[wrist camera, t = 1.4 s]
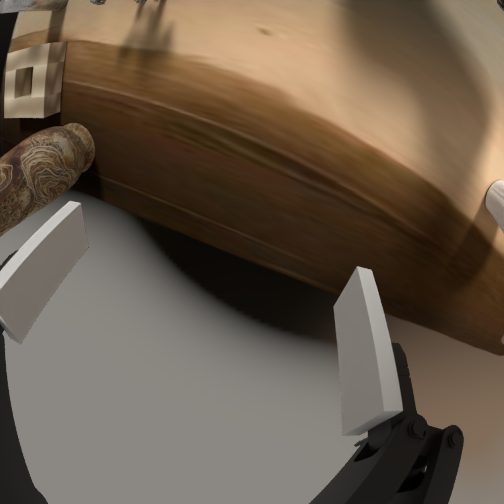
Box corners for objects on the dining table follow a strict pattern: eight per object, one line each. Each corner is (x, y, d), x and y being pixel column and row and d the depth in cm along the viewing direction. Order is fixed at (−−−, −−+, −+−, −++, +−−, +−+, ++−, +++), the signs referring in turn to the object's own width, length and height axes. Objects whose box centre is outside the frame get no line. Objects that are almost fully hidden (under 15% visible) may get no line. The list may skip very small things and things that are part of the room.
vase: (49, 127, 32) (-93, 226, 9) (92, 109, 31) (-84, 216, 7) (64, 180, 39) (-55, 299, 15) (108, 171, 37) (-32, 313, 13)
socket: (24, 50, 23) (8, 53, 19) (67, 41, 23) (50, 42, 20) (19, 111, 30) (4, 117, 27) (59, 111, 31) (43, 118, 28)
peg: (56, -6, 17) (2, -6, 8) (71, -10, 17) (16, -14, 8) (51, 12, 19) (-4, 16, 10) (65, 8, 20) (9, 9, 10)
